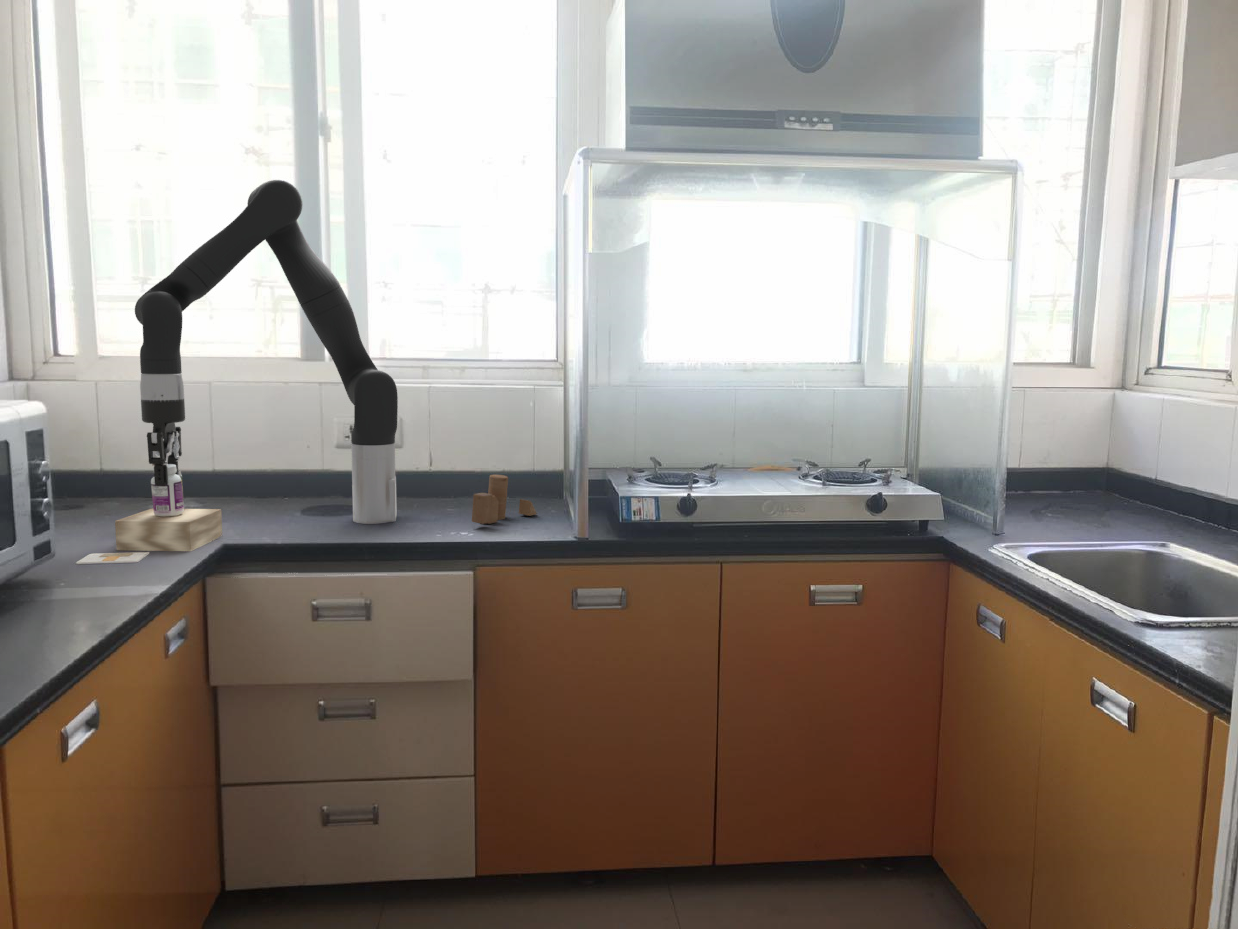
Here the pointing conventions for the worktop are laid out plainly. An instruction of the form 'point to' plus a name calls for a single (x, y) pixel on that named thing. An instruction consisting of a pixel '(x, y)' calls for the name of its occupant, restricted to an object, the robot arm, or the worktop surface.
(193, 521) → the birch block
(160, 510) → the pill bottle
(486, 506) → the wooden block set
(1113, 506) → the worktop surface
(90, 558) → the card
